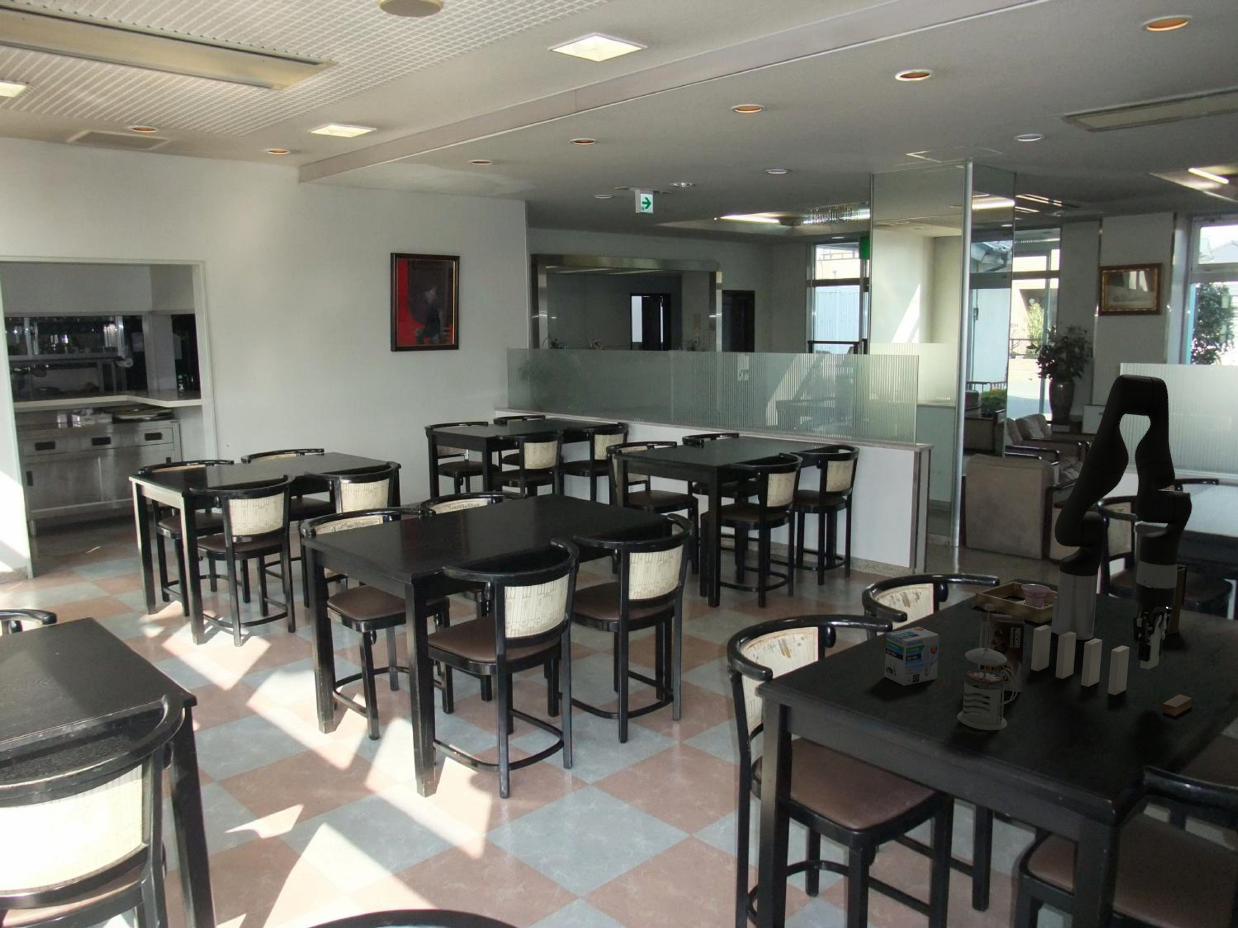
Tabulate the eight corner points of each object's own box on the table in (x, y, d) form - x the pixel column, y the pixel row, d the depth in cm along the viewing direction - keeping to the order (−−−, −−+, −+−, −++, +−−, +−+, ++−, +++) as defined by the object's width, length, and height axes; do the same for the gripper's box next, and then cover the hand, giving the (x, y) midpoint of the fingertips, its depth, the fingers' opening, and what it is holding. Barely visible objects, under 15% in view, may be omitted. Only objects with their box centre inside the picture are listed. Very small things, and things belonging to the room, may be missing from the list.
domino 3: (1081, 684, 212) (1084, 642, 211) (1091, 679, 215) (1095, 638, 214) (1088, 686, 211) (1091, 644, 210) (1098, 681, 214) (1102, 640, 213)
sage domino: (1140, 667, 202) (1144, 622, 200) (1150, 662, 205) (1154, 618, 203) (1147, 669, 200) (1151, 624, 199) (1158, 664, 203) (1162, 620, 202)
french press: (971, 706, 200) (978, 594, 196) (1024, 723, 192) (1032, 606, 188) (947, 718, 194) (954, 603, 190) (1001, 737, 185) (1009, 616, 181)
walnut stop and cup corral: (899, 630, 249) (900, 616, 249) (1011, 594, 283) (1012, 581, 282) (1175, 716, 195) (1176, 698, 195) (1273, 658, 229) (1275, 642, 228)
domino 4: (1107, 692, 208) (1111, 649, 206) (1118, 687, 211) (1122, 645, 209) (1115, 695, 206) (1119, 652, 205) (1125, 689, 209) (1129, 647, 208)
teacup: (1015, 600, 277) (1016, 580, 276) (1059, 606, 271) (1061, 586, 270) (1009, 610, 267) (1011, 590, 266) (1055, 617, 261) (1057, 596, 260)
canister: (1142, 632, 248) (1148, 559, 245) (1129, 620, 258) (1136, 550, 255) (1187, 635, 246) (1194, 562, 243) (1173, 623, 256) (1179, 552, 253)
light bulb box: (904, 686, 211) (906, 641, 209) (883, 676, 217) (885, 632, 215) (938, 678, 216) (940, 634, 214) (916, 669, 222) (919, 625, 220)
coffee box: (1019, 682, 213) (1023, 615, 211) (1021, 693, 207) (1026, 623, 205) (976, 677, 216) (980, 611, 214) (977, 687, 210) (982, 619, 208)
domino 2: (1055, 676, 217) (1058, 635, 216) (1066, 671, 220) (1069, 631, 219) (1062, 678, 216) (1065, 637, 214) (1073, 673, 219) (1076, 633, 217)
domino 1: (1031, 669, 222) (1033, 628, 220) (1041, 664, 225) (1044, 624, 223) (1037, 671, 221) (1040, 630, 219) (1048, 666, 224) (1051, 626, 222)
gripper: (1152, 573, 207) (1146, 646, 209) (1122, 583, 198) (1116, 659, 201) (1189, 580, 201) (1182, 655, 204) (1160, 591, 192) (1153, 669, 195)
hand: (1149, 657), depth 202 cm, fingers closed on sage domino, 5 cm apart
